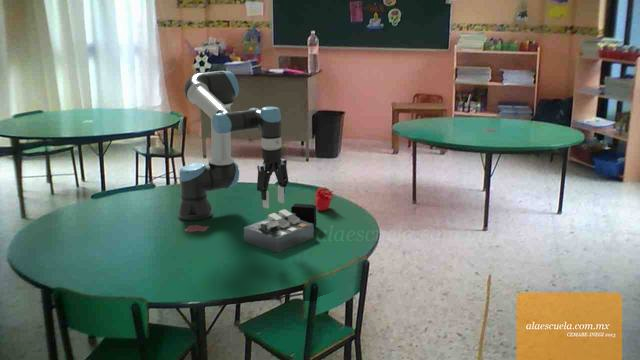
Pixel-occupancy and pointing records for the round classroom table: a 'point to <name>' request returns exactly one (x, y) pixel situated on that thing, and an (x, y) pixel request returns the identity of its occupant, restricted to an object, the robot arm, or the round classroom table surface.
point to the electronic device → (305, 212)
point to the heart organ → (323, 199)
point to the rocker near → (269, 224)
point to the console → (278, 234)
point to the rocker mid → (279, 220)
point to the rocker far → (289, 216)
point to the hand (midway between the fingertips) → (273, 204)
